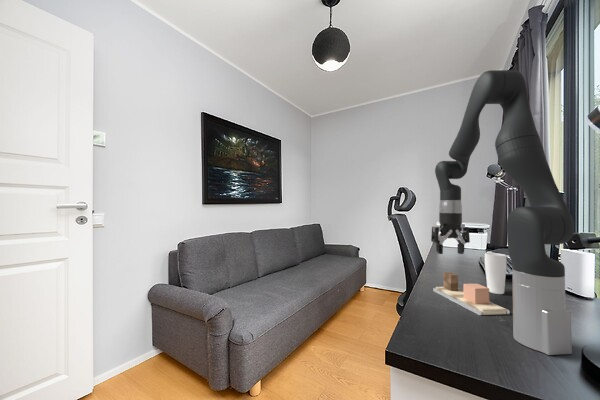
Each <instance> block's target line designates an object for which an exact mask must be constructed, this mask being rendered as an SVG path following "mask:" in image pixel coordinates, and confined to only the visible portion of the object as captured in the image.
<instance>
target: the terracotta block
mask: <svg viewBox="0 0 600 400" xmlns="http://www.w3.org/2000/svg"><path fill="white" fill-rule="evenodd" d="M462 290H463V291H464V299H466V300H468V301H470V302H472V303H474V304H489V302H490V292H489V288H487V286H484V285H481V284H479V283H463V287H462Z"/></svg>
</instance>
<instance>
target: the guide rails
mask: <svg viewBox="0 0 600 400" xmlns="http://www.w3.org/2000/svg"><path fill="white" fill-rule="evenodd" d="M458 288H459V287H458ZM432 289H433V290H432V291H433V292H434V293H436V294H438V295H440V296H442V297H444V298H446V299H448V300H449V301H451V302H453V303H456V304H457V305H459V306H461V307H463V308H464V309H466V310H469V311H470V312H473V313H475V314H476V315H478V316H482V311H480V310H478V309H476V308H474V307H472V306H470V305H468V304H466V303H464V302H462V301H460V300H458V299H456V298H454V297H452V296H450V295H448V294H446V293H444V292H442V291H440V290H438V289H436V287H433V288H432ZM459 289H461V290H463V288H459ZM490 302H491V301H490ZM491 303H493V302H491ZM493 304H495V303H493ZM499 306H500V305H499ZM500 307H502V306H500ZM502 308H504V307H502ZM505 309H506V314H505V315H510V313H511V312H510V309H507V308H505Z"/></svg>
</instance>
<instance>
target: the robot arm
mask: <svg viewBox="0 0 600 400" xmlns="http://www.w3.org/2000/svg"><path fill="white" fill-rule="evenodd" d="M469 96H470V97H469V99H468V103H467V104H466V105H467V106H466V108H465V111H464V115H463V118H462V121H461V125H460V127H459V130H458V132H457V134H456V136H455V139H454V141H453V143H452V145H451V147H450V149H449V151H448V156H449V158H451V159H453V160H441V161H439V162H437V164H436V166H435V168H434V174H435V177H436V180H437V184H438V187H439V210H438V211H439V214H438V215H439V218H438V219H439V220H438V222H439V227H438V226H432V227H431V235H430V236H431V238H430V240H431V241H430V242H433V243H435V245H436V247H435V248H436V249H435V251H436V253H437V254H439V255H443V253H444V247H443V246H444V245H443V243H444V242H445V241H446V240H447V239H454V240H456V242H457V254H459V255H464V253H465V245H466V244H467V243H470V241H471V239H470V227H467V226H462V224H463V206H462V204H463V203H462V188H461V186H460V185H457V184H454V183H451V181H450V180H460V179H462V178H463V177H465V176H466V174H467V172H468V168H469V167H468V166H469V163H470V158H471V156H472V154H473V152H474V151H475V149H476V147H478V144H479V141H480V138H481V130H480V115H481V113H482V112H483V109H484V107H485V106H486V105H499V106H500V107H501V109H502V111H503V116H504V122H503V124H502V125H501V127H500V130H499V131H498V133H497V136H496V138H495V141H494V142H495V143H494V147H495V151H496V155H497V159H498V162H499V165H500V167H501V168H502V169H503V171H504V172H505V174H507V175H508V177H510V179H512V180H513V181H514V182H515V183H516V184H517V185H518V186H519V187H520V188H521V189H522V190H523V193H524V194H525V196H526V198H527V200H528V203H529V206H518V207H516V208H514V209H512V211H510V213H509V214H508V216H507V221H506V236H507V250H508V256H509V259H510V261H511V265H512V266H511V267H512V327H513V329H512V330H513V331H512V332H513V334H512V335H513V339H514V340H515V341H516V342H518V343H519V344H520V345H523V346H525V347H527V348H530V349H532V350H535V351H539V352H541V353H543V354H546V355H548V356H554V355H556V356H557V355H572V354H573V347H572V345H573V344H572V343H573V342H572V338H573V337H572V312H571V311H570V310H568V309H566V308H567V307H566V268H565V267H566V266H565V265H564V264H563V263H562V262H561V261H558V260H555V259H553V258H551V257H550V256H549V255H547V252H546V245H564V244H566V243H567V242H569V241H570V240H571V239H572V238H573V236H574V233H575V223H574V219H573V217H572V214H571V211H570V210H569V207H568V205H567V204H566V202H565V200H564V198H563V196H562V194H561V192H560V190H559V188H558V186H557V183H556V181H555V179H554V176H553V173H552V171H551V168H550V165H549V163H548V160H547V157H546V153H545V149H544V146H543V143H542V141H541V140H542V139H541V138H540V135H539V132H538V129H537V126H536V124H535V121H534V118H533V114H532V111H531V106H530V101H529V95H528V89H527V82H526V79H525V77H524V75H523V73H522V72H520V71H518V70H515V69H514V70H513V69H501V70H499V69H495V70H494V69H491V70H487V71H484V72H483V73H481V74H480V75H479V77H478V78H477V80H476V81H475V83H474V85H473V87H472V90H471V93H470V95H469Z"/></svg>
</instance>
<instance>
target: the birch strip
mask: <svg viewBox="0 0 600 400" xmlns="http://www.w3.org/2000/svg"><path fill="white" fill-rule="evenodd" d="M442 275H443V278H442V279H443V280H442V281H443V286H435V288H436V289H438V290H440V291H442V292H444V293H446V294H448V295H450V296H452V297H454V298H456V299H458V300H460V301H462V302H464V303H466V304H468V305H470V306H472V307H474V308H476V309H478V310H480V311H482V315H483V316H486V315H487V316H488V315H489V316H490V315H491V316H492V315H493V316H494V315H507V314H506V309H507V308H505V307H503V308H502V306H501V307H500V305H499V304H497V303H494V304H493V302H492V303H491V301H489V304H474V303H472V302H470V301H468V300H466V299H464V291H463V289H462V288H460V289H459V274H456V273H454V272H451V271H446V272H445V271H444V272H443V274H442ZM461 289H462V290H461ZM482 315H481V316H482Z"/></svg>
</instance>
